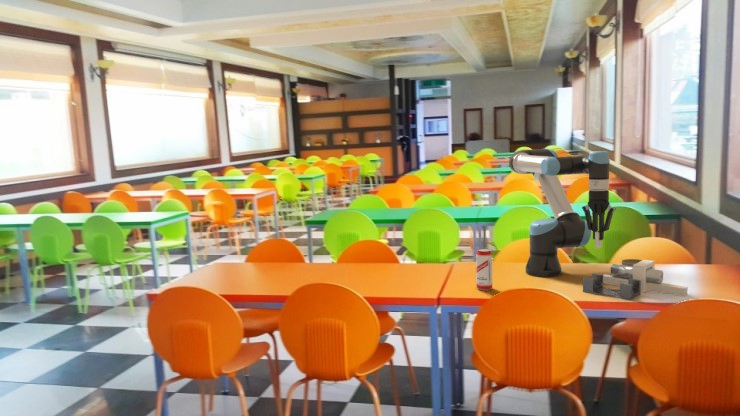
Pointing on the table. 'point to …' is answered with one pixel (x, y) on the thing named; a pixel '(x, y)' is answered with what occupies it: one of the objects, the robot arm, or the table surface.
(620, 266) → the axle
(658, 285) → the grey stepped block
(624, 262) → the flower pot
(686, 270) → the table surface
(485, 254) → the beer can
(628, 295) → the v block
